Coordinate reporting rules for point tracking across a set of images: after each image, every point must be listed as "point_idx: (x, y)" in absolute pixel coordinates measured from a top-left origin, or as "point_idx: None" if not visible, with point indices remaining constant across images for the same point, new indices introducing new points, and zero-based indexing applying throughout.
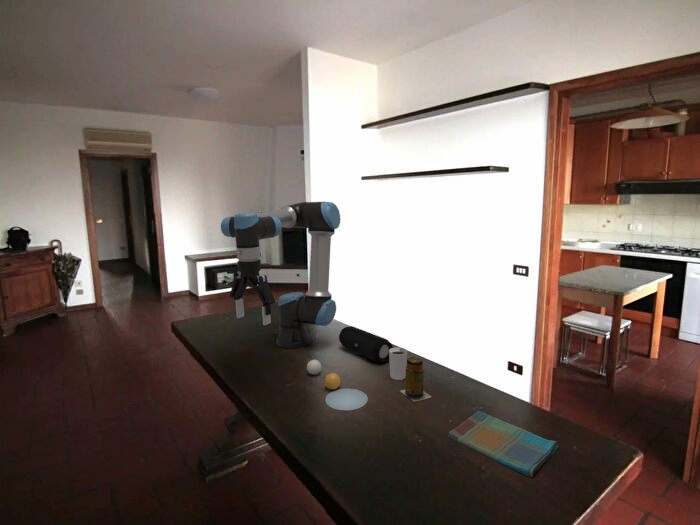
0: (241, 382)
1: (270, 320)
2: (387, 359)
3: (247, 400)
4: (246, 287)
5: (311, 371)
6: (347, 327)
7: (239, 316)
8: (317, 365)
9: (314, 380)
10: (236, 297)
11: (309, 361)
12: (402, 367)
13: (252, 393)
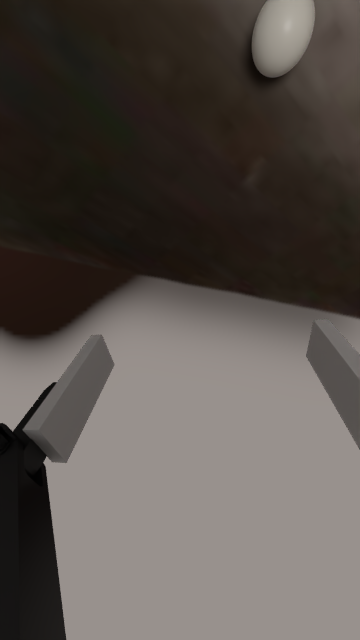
0: (154, 256)
1: (336, 329)
2: None
3: (229, 289)
4: (19, 626)
5: (286, 72)
6: None
7: (108, 363)
8: (312, 28)
9: (304, 93)
10: (46, 484)
11: (267, 36)
12: None
13: (214, 268)
